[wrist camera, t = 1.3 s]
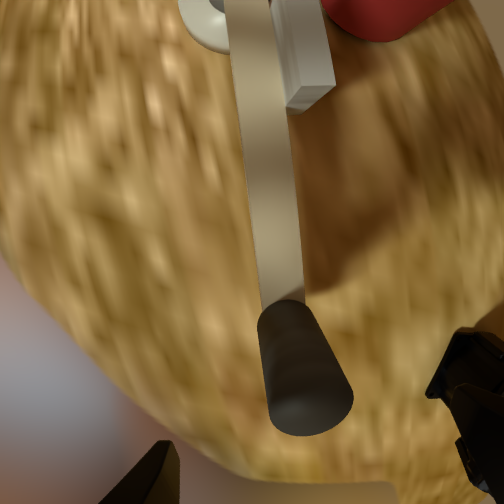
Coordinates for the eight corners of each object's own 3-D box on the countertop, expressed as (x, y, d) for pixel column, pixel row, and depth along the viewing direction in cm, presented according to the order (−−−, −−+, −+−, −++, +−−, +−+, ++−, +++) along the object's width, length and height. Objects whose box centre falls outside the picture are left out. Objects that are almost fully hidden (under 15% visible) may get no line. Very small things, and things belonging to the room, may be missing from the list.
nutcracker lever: (205, -27, 13) (190, -127, 4) (274, -32, 13) (297, -131, 5) (251, 339, 18) (262, 453, 10) (319, 329, 18) (370, 432, 10)
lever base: (282, 67, 17) (288, 56, 15) (169, 46, 16) (162, 34, 14) (303, -17, 15) (310, -32, 13) (200, -35, 14) (198, -51, 13)
